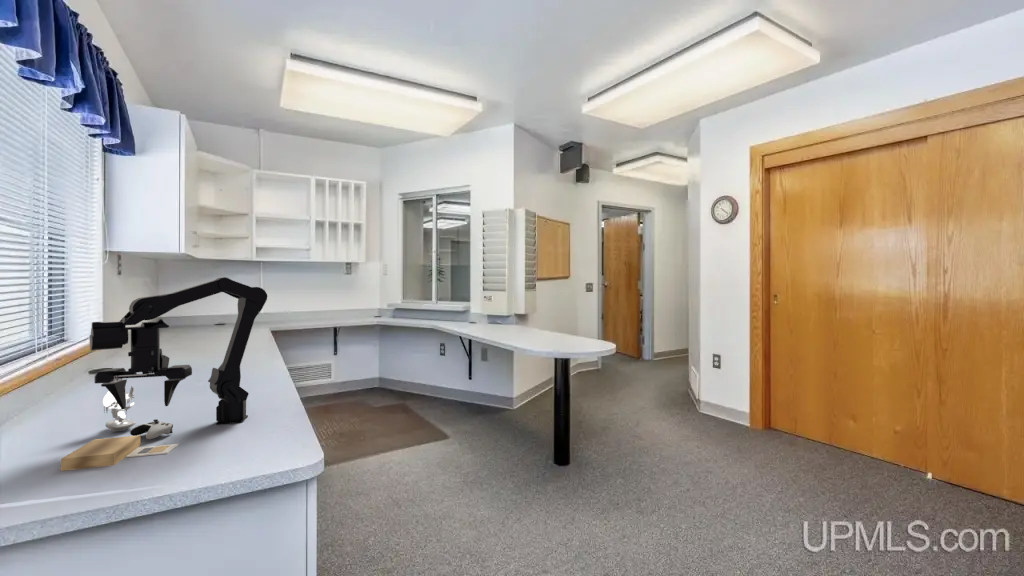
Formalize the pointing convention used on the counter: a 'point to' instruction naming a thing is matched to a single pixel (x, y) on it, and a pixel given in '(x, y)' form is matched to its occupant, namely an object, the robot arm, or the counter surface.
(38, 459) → the counter surface
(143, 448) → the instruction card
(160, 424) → the game controller
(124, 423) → the figurine
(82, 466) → the base brick
